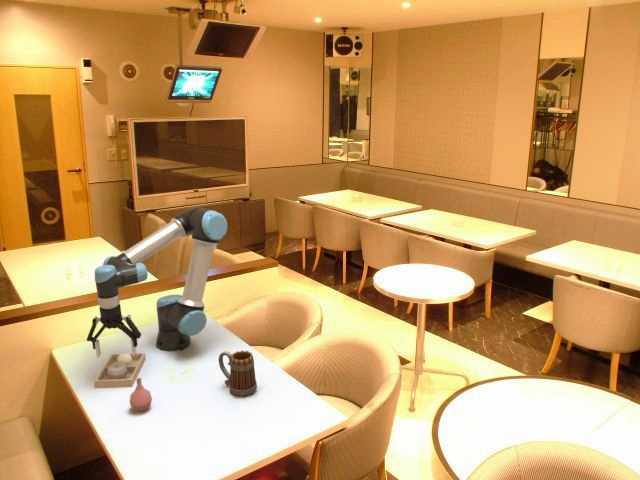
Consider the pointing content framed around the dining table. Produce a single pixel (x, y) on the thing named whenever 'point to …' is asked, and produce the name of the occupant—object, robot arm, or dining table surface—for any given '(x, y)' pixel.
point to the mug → (239, 373)
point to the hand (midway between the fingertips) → (116, 355)
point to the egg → (124, 359)
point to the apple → (117, 371)
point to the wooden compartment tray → (131, 375)
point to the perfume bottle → (140, 397)
